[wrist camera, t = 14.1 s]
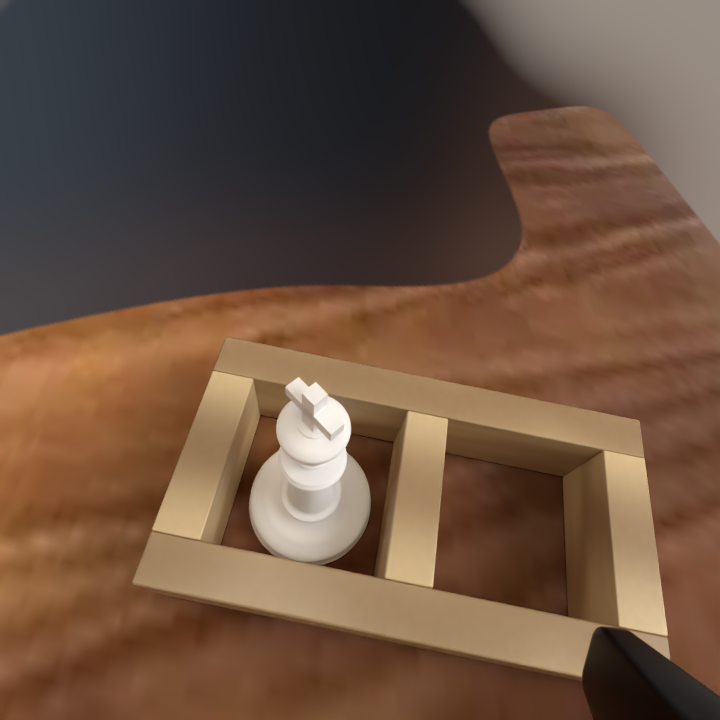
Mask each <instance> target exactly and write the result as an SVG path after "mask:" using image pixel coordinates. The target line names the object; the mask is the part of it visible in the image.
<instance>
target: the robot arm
mask: <svg viewBox="0 0 720 720" xmlns="http://www.w3.org/2000/svg"><path fill="white" fill-rule="evenodd" d="M582 684H583V689H584V693H585V696H586V699H587V702H588V705H589V708H590V711H591V714H592V717H593V720H720V696H718V695H717V694H715V693H714V692H713V691H711V690H710V689H709V688H707V687H706V686H705V685H703V684H702V683H700V682H699V681H698V680H696V679H695V678H694V677H692V676H691V675H689V674H688V673H687V672H685V671H684V670H683V669H681V668H680V667H679V666H677V665H676V664H674V663H673V662H672V661H670V660H669V659H668V658H666V657H665V656H663V655H662V654H661V653H659V652H658V651H657V650H655V649H654V648H653V647H651V646H650V645H648V644H647V643H646V642H644V641H643V640H642V639H640V638H639V637H637V636H636V635H635V634H633V633H632V632H631V631H629V630H627V629H624V628H617V627H604V626H601V627H598V628H596V629H595V631H594V632H593V634H592V638H591V641H590V645H589V649H588V652H587V656H586V660H585V663H584V667H583V672H582Z"/></svg>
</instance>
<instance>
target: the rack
mask: <svg viewBox="0 0 720 720" xmlns="http://www.w3.org/2000/svg"><path fill="white" fill-rule="evenodd" d="M213 370H214V371H213V372H212V374H211V377H210V380H209V382H208V385H207V387H206V390H205V393H204V395H203V398H202V400H201V403H200V405H199V408H198V411H197V413H196V416H195V418H194V421H193V424H192V426H191V429H190V431H189V434H188V437H187V439H186V442H185V444H184V447H183V450H182V452H181V455H180V457H179V460H178V462H177V465H176V468H175V470H174V473H173V475H172V478H171V481H170V483H169V486H168V488H167V491H166V494H165V496H164V499H163V501H162V504H161V507H160V509H159V512H158V514H157V517H156V520H155V522H154V525H153V527H152V531H153V532H151V533H150V536H149V539H148V541H147V544H146V546H145V549H144V552H143V554H142V557H141V559H140V562H139V564H138V567H137V570H136V572H135V575H134V577H133V580H132V584H133V585H135V586H138V587H141V588H144V589H146V590H149V591H152V592H155V593H158V594H161V595H165V596H170V597H175V598H179V599H184V600H189V601H194V602H199V603H204V604H208V605H213V606H218V607H223V608H228V609H233V610H237V611H242V612H247V613H252V614H257V615H262V616H266V617H271V618H276V619H281V620H286V621H291V622H295V623H300V624H305V625H310V626H315V627H320V628H324V629H329V630H334V631H339V632H344V633H349V634H353V635H358V636H363V637H368V638H373V639H378V640H382V641H387V642H392V643H397V644H402V645H407V646H411V647H416V648H421V649H426V650H431V651H436V652H440V653H445V654H450V655H455V656H460V657H465V658H469V659H474V660H479V661H484V662H489V663H493V664H498V665H503V666H508V667H513V668H518V669H522V670H527V671H532V672H537V673H542V674H547V675H551V676H556V677H561V678H566V679H571V680H576V681H580V682H582V672H583V667H584V663H585V660H586V656H587V652H588V649H589V645H590V641H591V638H592V634H593V632H594V631H595V629H596V628H598V627H601V626H604V627H617V628H624V629H627V630H629V631H631V632H632V633H633V634H635V635H636V636H637V637H639V638H640V639H642V640H643V641H644V642H646V643H647V644H648V645H650V646H651V647H653V648H654V649H655V650H657V651H658V652H659V653H661V654H662V655H663V656H665V657H666V658H668V659H669V660H670V652H669V644H668V639H667V638H666V637H667V636H668V633H667V625H666V618H665V610H664V603H663V595H662V588H661V580H660V572H659V565H658V557H657V550H656V542H655V534H654V527H653V519H652V512H651V504H650V496H649V489H648V481H647V474H646V466H645V459H644V452H643V444H642V437H641V429H640V422H639V420H634V419H629V418H624V417H619V416H614V415H610V414H605V413H600V412H595V411H590V410H585V409H580V408H575V407H570V406H565V405H560V404H555V403H550V402H546V401H541V400H536V399H531V398H526V397H521V396H516V395H511V394H506V393H501V392H496V391H491V390H486V389H482V388H477V387H472V386H467V385H462V384H457V383H452V382H447V381H442V380H437V379H432V378H427V377H422V376H418V375H413V374H408V373H403V372H398V371H393V370H388V369H383V368H378V367H373V366H368V365H363V364H358V363H354V362H349V361H344V360H339V359H334V358H329V357H324V356H319V355H314V354H309V353H304V352H299V351H294V350H290V349H285V348H280V347H275V346H270V345H265V344H260V343H255V342H250V341H245V340H240V339H235V338H230V337H226V338H225V341H224V343H223V346H222V349H221V351H220V354H219V356H218V359H217V362H216V364H215V367H214V369H213ZM298 377H299V378H300V379H301V380H302V381H303V382H304V383H305V384H306V385H307V386H308V387H310V386H311V385H312V384H314V383H315V382H316V383H317V384H318V385H319V386H320V387H321V388H322V389H323V390H324V391H325V392H326V393H327V394H328V396H329V397H331V398H333V399H335V400H336V401H338V402H339V403H340V404H341V405H342V406H343V407H344V409H345V410H346V412H347V413H348V416H349V418H350V422H351V434H356V435H361V436H366V437H371V438H376V439H381V440H386V441H391V442H394V443H393V450H392V456H391V463H390V470H389V476H388V483H387V490H386V496H385V503H384V510H383V516H382V523H381V530H380V536H379V543H378V550H377V556H376V563H375V570H374V576H369V575H364V574H359V573H354V572H349V571H345V570H340V569H335V568H330V567H325V566H320V565H315V564H311V563H306V562H301V561H296V560H291V559H286V558H281V557H277V556H272V555H267V554H262V553H257V552H252V551H248V550H243V549H238V548H233V547H228V546H223V545H221V542H222V538H223V535H224V532H225V529H226V525H227V522H228V519H229V516H230V512H231V509H232V506H233V503H234V500H235V496H236V493H237V490H238V487H239V483H240V480H241V477H242V474H243V471H244V467H245V464H246V461H247V458H248V454H249V451H250V448H251V445H252V442H253V438H254V435H255V432H256V429H257V425H258V422H259V419H260V415H263V416H268V417H273V418H278V417H279V414H280V412H281V411H282V409H283V408H284V407H285V406H286V405H287V404H288V403H289V402H290V401H291V400H290V399H289V397H288V396H287V395H286V391H285V387H286V386H287V385H288V384H290V383H291V382H292V381H294V380H295V379H296V378H298ZM445 453H449V454H454V455H459V456H464V457H469V458H474V459H479V460H484V461H489V462H494V463H498V464H503V465H508V466H513V467H518V468H523V469H528V470H533V471H538V472H543V473H547V474H552V475H557V476H562V477H563V501H564V526H565V552H566V577H567V602H568V616H563V615H558V614H553V613H548V612H544V611H539V610H534V609H529V608H524V607H519V606H514V605H510V604H505V603H500V602H495V601H490V600H485V599H480V598H476V597H471V596H466V595H461V594H456V593H451V592H446V591H442V590H437V589H432V587H433V582H434V571H435V560H436V549H437V538H438V527H439V516H440V505H441V494H442V483H443V472H444V461H445ZM670 661H671V660H670Z"/></svg>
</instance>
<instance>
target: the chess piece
mask: <svg viewBox="0 0 720 720" xmlns="http://www.w3.org/2000/svg"><path fill="white" fill-rule="evenodd" d="M285 391H286V395H287V396H288V397H289V399H290V400H291V401H290V402H289V403H288V404H287V405H286V406H285V407H284V408H283V409H282V411H281V412H280V414H279V417H278V420H277V424H276V435H277V439H278V442H279V444H280V448H279V451H277V452H276V453H275V454H273V455H272V456H271V457H270V458H269V459H268V460H267V461H266V462H265V463H264V464H263V466H262V467H261V468H260V470H259V472H258V473H257V475H256V477H255V480H254V482H253V485H252V489H251V494H250V500H249V514H250V520H251V524H252V527H253V530H254V532H255V534H256V536H257V538H258V539H259V541H260V542H261V544H262V545H263V546H264V547H265V548H266V549H267V550H268V551H269V552H270V553H271V554H272V555H274V556H277V557H281V558H286V559H291V560H296V561H301V562H306V563H311V564H315V565H324V564H327V563H330V562H333V561H335V560H337V559H339V558H340V557H342V556H344V555H345V554H346V553H348V552H349V551H350V550H351V549H352V548H353V547H354V546H355V545H356V544H357V542H358V541H359V540H360V538H361V537H362V535H363V533H364V531H365V529H366V527H367V524H368V521H369V517H370V511H371V496H370V489H369V484H368V481H367V478H366V476H365V474H364V472H363V470H362V468H361V467H360V465H359V464H358V463H357V461H356V460H355V459H354V458H353V457H352V456H351V455H349V454H348V453H347V452H346V448H345V447H346V446H347V444H348V442H349V439H350V435H351V422H350V418H349V416H348V413H347V412H346V410H345V409H344V407H343V406H342V405H341V404H340V403H339V402H338V401H336V400H335V399H333V398H331V397H329V396H328V394H327V393H326V392H325V391H324V390H323V389H322V388H321V387H320V386H319V385H318V384H317V383H316V382H315V383H314V384H312V385H311V386H310V387H308V386H307V385H306V384H305V383H304V382H303V381H302V380H301V379H300V378H299V377H298V378H296V379H295V380H294V381H292V382H291V383H290V384H288V385H287V386H286V387H285Z"/></svg>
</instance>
